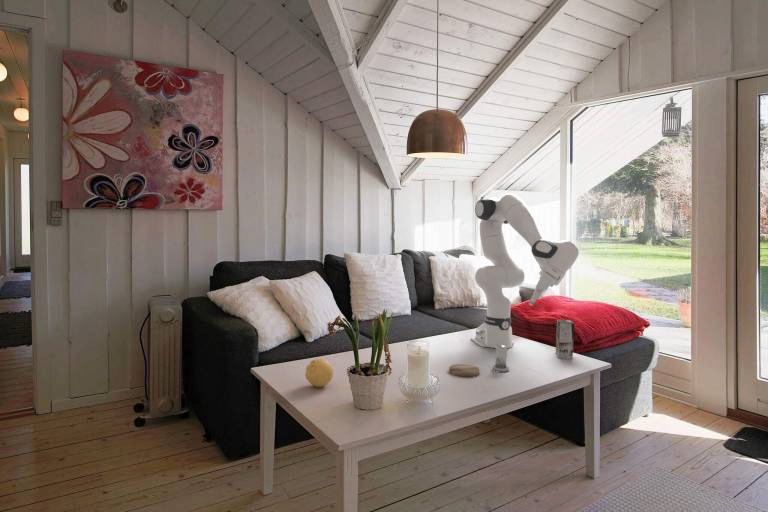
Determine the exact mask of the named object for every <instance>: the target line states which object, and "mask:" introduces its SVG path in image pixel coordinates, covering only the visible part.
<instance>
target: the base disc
mask: <svg viewBox="0 0 768 512" xmlns="http://www.w3.org/2000/svg"><path fill="white" fill-rule="evenodd" d="M448 369H449V373H450V374H451V375H453V376H454V377H455V376H456V377H461V378H474V377H473V376H475V377H478V376H479V375H480V368H479V367H478V366H475V365H472V364H465V363H460V364H459V363H457V364H453V365H450V366H449V367H448ZM477 375H478V376H477Z"/></svg>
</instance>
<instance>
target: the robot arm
mask: <svg viewBox="0 0 768 512" xmlns="http://www.w3.org/2000/svg"><path fill="white" fill-rule="evenodd" d="M474 212H475V215H476V218H478V219H479V220H481V221H480V223H479V236H480V241H481V247H482V252H483V256H484V257H485V258H486V259H487V260H489V261H490V262H491V263H492V265H486V266H481V267H479V268H478V269H477V270H476V271H475V276H474V280H475V283H476V285H478V287H480V288H481V290H482V291H483V293H484V295H485V299H486V315H485V316H483V319H484V322H483V323H482V324H481V325H479V326H478V327H477V328H476V330H475V336H471V337H470V340H471V341H472V342H474V343H475V344H477V345H478V346H479V347H482V348H483V347H484V348H485V347H486V348H491V349H496V345H506V346H507V349H509V348H510V349H511V348H512V347H513V345H514V343H515V341H513V328H512V326H511V324H512V317H511V301H510V299H509V298H508V297H507V296H505V295H504V293H503V289H506V288H507V289H510V288H515V287H518V286H521V285H522V284H523V283H524V281H525V272H524V270H523V268H522V267H520V266H519V265H517V264H516V263H515V262H514V260H513V259H512V258H511V256H510V254H509V253H508V250H507V249H508V248H507V246H506V241H505V238H504V233H503V229H502V226H503V224H505V225H510V226H511V228H513V230H515V232H517V233H518V235H520V236H521V237H522V238H523V239H524V240H525V241H526V242H527V243H528V245H529V246H530V249H531V253H532V255H533V258H534V259H535V261H536V262H537V264H538V266H539V268H540V271H539V273H538V274H539V279H538V281H537V284H536V285H535V288H534V291H533V293H532V296H531V297H530V300H529V301H528V304H529V305H530V306H533V305H534V304H535V303H536V301H537V300H541V299H542V298H543V296H544V294H545V293H546V292H547V290H548V289H549V287H550V288H552V287H554V286H558V285H559V284H560V283H561V282H562V280H563V279H564V277H565V275H566V273H567V272H568V270H570V269H571V268H572V266H573V265H574V263H575V262H576V261H577V258H578V257H579V254H580V252H579V249H578V248H577V246H576V245H575V244H574V243H572V242H571V241H569V240H567V239H566V240H561V241H555V240H549V239H548V238H543V237H542V236H541V234H540V231H539V230H538V227H537V225H536V224H537V223H536V222H535V220H534V216H533V215H532V214H533V213H531V211H530V209H529V207H528V206H527V204H526V203H525V202H524V201H523V200H522V199H521V198H520V197H519V196H517V195H516V194H515V193H512V192H508V193H505V194H504V195H502V196H501V197H491V198H488V197H487V198H485V197H483V198H481V199H479V200H478V201H477V202H476V203H475V207H474Z"/></svg>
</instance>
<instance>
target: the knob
mask: <svg viewBox="0 0 768 512" xmlns="http://www.w3.org/2000/svg"><path fill="white" fill-rule="evenodd" d="M507 358H508V348H507V346H506V345H496V348H495V360H494V362H495V364H494V365H493V366H492V371H494V370H495V371H494V372H496V371H498V372H497V373H508V372H509V371H510V369H509V366H507V361H508V360H507ZM507 371H508V372H507Z"/></svg>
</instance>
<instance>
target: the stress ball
mask: <svg viewBox="0 0 768 512" xmlns="http://www.w3.org/2000/svg"><path fill="white" fill-rule="evenodd" d="M333 377H334V368H333V366H332V365H331V363H330V362H329V361H328V360H327V359H323V358H317V359H313V360H311V361H310V362H309V363H308V364H307V366H306V368H305V379H306V380H307V381H308V382H309V384H311V385H312V386H314V387H316V388H323V387H324V386H327V385H328V384H329V383H331V381H332V379H333Z"/></svg>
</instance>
